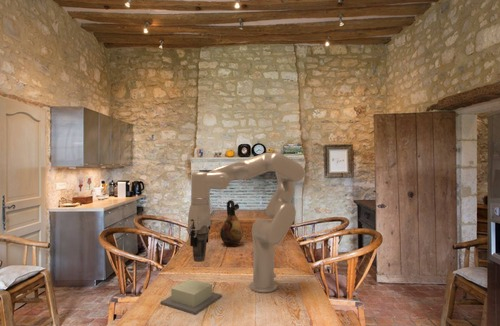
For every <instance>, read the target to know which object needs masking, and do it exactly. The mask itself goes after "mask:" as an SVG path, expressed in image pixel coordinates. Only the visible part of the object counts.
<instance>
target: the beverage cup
mask: <svg viewBox="0 0 500 326" xmlns="http://www.w3.org/2000/svg"><path fill="white" fill-rule="evenodd" d="M194 229H195V228H194ZM193 232H194V233H195V231H193ZM209 233H210V231H209V232H208V228H207V226H206V225H204V226H202V227H201V229H200V230H198V233H197V236H196V237H197V238H198V239H197V247H193V246H192V255H193V256H192V257H193V262H197V263H202V262H205V258H206V252H207V237H208V238H209Z"/></svg>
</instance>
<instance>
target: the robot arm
mask: <svg viewBox="0 0 500 326" xmlns="http://www.w3.org/2000/svg"><path fill="white" fill-rule="evenodd" d="M268 172H275V176H276V180H277V188H276V190H275V192H274V193H273V195H272V196H271V198H270V200H269V202H268V203H267V205H266V208H265V214H266V216H268V218H270V219H272V220H269V219H268V218H267V219H266V218H258V219H256V220H254V222H253V223H252V227H251V236H252V237H251V238H252V242H253V243H252V244H253V259H252V260H253V262H252V263H253V265H252V266H253V267H252V268H253V269H252V270H253V272H252V273H253V275H252V277H253V279H252V281H251V282H250V283H249V288H250V290H252V291H253V292H257V293H266V294H267V293H272V292H274V291H276V290H277V289H278V284H277V283H276V282H275V278H276V277H277V273H275V245H279V244H280V243H281V242H282V241H283V240H284V239H285V237H286V235H287V234H288V231H289V230H290V228H291V226H292V225H293V223H294V221H295V218H296V213H297V212H296V207H295V206H294V204H293V203H292V202H291V201H292V199H293V197H294V194H295V184H294V183H299V182H302V180H303V179H304V178H305V168H304V167H303V165H302V164H300V163H299V162H297V161H296V160H294V159H292V158H290V157H288V156H287V155H285V154H282V153H281V152H264V153H262V154H258V155H256V156H252V157H249V158H247V159H244V160H240V161H237V162H233V163H230V164H226V165H224V166H220V167H217V168H214V169H212V170H209V171H207V172H206V171H194V172H192V174H191V183H190V184H191V189H190V191H191V192H190V194H191V195H190V206H189V209H188V215H187V216H188V217H187V227H186V231H187V233H188V235H189V237H190V238H189V239H190V240H189V241H190V243H189V245H190V247H192V248H193V247H197V239H198V238H197V237H196V236H197V233H198V230H200V229H201V227H202V226H204V225H206V226H207V228H208V232H209V233H210V230H211V226H212V224H213V221H211V207H210V195H211V194H210V193H211V192H210V190H211V189H212V190H217V191H218V190H219V191H220V190H224V189H226V188H227V187H229V185H230V182H232V181H239V180H240V181H241V180H243V181H244V180H250V179H252V178H255V177H257V176H259V175H263V174H265V173H268ZM194 228H195V229H194ZM193 231H195V233H194V232H193ZM207 243H209V236H208V237H207Z"/></svg>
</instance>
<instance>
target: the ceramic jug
mask: <svg viewBox="0 0 500 326" xmlns="http://www.w3.org/2000/svg"><path fill="white" fill-rule="evenodd" d="M239 209H240V206H239V203H236V204H235V201H234V200H232V199H229V200H228V201H227V202H226V215H227V217H226V218H225V220H224V222H222V225H221V227H220V231H219V235H220V236H219V237H220V239H221V241H222V243H223V246H225V247H226V248H228V247H230V248H234V247H237V246H238V244H239V243H240V242H241V240H242V239H243V234H244V233H243V232H244V231H243V226H242V224H241V221H240V220H239V218H238V216H237V214H236V211H237V210H239Z"/></svg>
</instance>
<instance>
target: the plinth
mask: <svg viewBox="0 0 500 326" xmlns="http://www.w3.org/2000/svg"><path fill="white" fill-rule="evenodd" d="M170 291H171V295H170V296H168V297H166V298H165V299H162V300H161V301H160V305H163V306H166V307H170V308H172V309H176V310H179V311H182V312H185V313H188V314H192V315H197V314H199V313H200V312H203V310H205V309H206V308H208V307H209V306H211V305H212V304H214V303H215V302H217V301H219V300H220V299H221V298H222V297H223V294H221V293H217V292H214V291H213V284H212V283H209V282H206V281H205V282H204V281H200V280H197V279H192V278H188V279H187V280H185V281H183V282H181V283H179V284H177V285H174V286H173V287H171V289H170Z"/></svg>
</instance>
